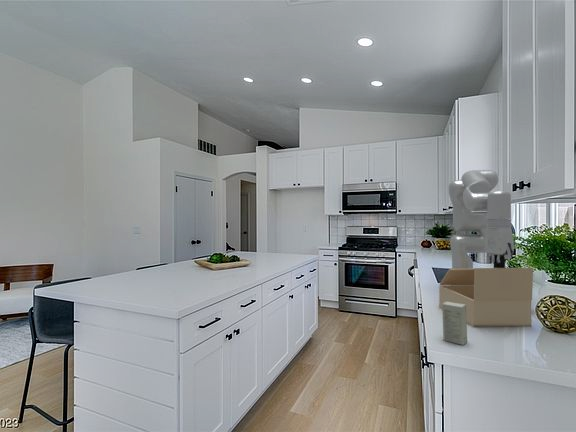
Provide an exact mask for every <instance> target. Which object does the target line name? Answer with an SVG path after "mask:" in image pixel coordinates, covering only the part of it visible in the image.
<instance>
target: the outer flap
mask: <svg viewBox="0 0 576 432" xmlns="http://www.w3.org/2000/svg"><path fill="white" fill-rule="evenodd" d="M474 268H475V271H474V300H475V301H484V300H531V301H532V300H533V288H534V284H533V283H534V267H505V268H494V267H474Z"/></svg>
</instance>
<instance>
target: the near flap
mask: <svg viewBox="0 0 576 432" xmlns="http://www.w3.org/2000/svg"><path fill="white" fill-rule="evenodd" d="M475 268H476V267H473V268H468V269H452V268H449V269H448V270H447V272H446V274H445V275H444V276H443V278H442V279H441V281H440V282H439V283H438V285H439V286H450V285H474V271H475Z"/></svg>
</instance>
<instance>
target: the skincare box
mask: <svg viewBox="0 0 576 432" xmlns="http://www.w3.org/2000/svg"><path fill="white" fill-rule="evenodd" d="M467 327H468V324H467V318H466V305H465V304H459V303H453V302H445V303H443V304H442V333H443V335H442V336H443V337H442V339H443V341H445V342H448V343H449V342H450V343H453V344H457V345H461V346H464V345H465V344H466V343H467V342H468V328H467Z"/></svg>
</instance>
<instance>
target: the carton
mask: <svg viewBox="0 0 576 432" xmlns="http://www.w3.org/2000/svg"><path fill="white" fill-rule="evenodd" d="M438 288H439V289H438V290H439V292H438V293H439V295H438V299H439V300H438V302H439V303H438V304H439V306H438V307H439V308H440V309H442V304H443V303H445V302H453V303H459V304H465V305H466V318H467V325H469V326H471V327H472V328H499V327H500V328H501V327H503V328H504V327H505V328H506V327H508V328H509V327H510V328H511V327H532V300H484V301H475V300H474V285H468V286H450V285H439V287H438Z"/></svg>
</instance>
